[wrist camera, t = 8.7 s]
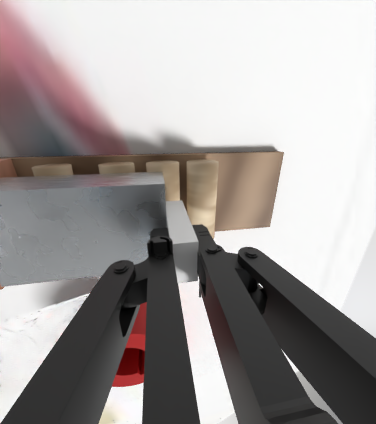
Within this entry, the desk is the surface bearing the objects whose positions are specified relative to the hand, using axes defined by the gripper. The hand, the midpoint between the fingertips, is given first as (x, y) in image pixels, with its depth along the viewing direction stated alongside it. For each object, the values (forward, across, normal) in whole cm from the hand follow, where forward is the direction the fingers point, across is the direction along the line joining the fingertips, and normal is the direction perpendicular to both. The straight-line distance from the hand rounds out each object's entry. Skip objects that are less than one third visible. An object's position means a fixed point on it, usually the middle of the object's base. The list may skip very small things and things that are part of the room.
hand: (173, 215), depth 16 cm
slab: (+2, -7, 0) cm, 7 cm away
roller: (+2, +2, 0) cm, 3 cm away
